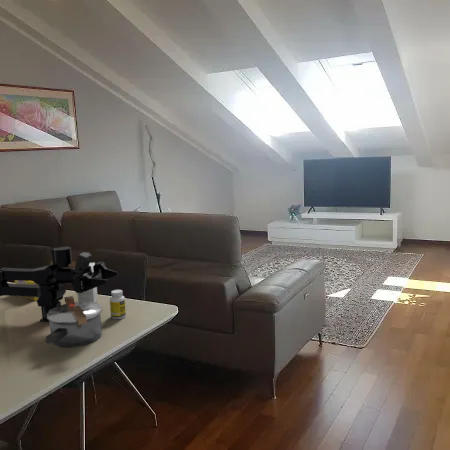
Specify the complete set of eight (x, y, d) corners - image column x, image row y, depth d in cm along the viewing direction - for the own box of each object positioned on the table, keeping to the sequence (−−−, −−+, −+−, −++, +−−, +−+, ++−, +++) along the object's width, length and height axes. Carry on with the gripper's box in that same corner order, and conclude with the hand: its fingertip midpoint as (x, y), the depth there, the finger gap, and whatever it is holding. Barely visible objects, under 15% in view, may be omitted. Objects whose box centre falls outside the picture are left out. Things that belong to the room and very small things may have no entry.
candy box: (15, 294, 203) (13, 275, 202) (20, 292, 205) (18, 274, 204) (34, 301, 193) (32, 281, 192) (39, 299, 195) (37, 280, 193)
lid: (42, 308, 159) (42, 300, 159) (94, 299, 167) (93, 291, 167) (53, 333, 138) (52, 323, 137) (111, 321, 146) (110, 312, 145)
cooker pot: (29, 355, 143) (26, 330, 142) (72, 323, 168) (70, 301, 166) (76, 358, 140) (74, 333, 138) (114, 325, 164) (112, 303, 163)
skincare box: (82, 299, 193) (79, 263, 190) (99, 298, 193) (95, 262, 190) (78, 306, 184) (74, 268, 182) (95, 305, 185) (91, 267, 182)
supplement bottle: (122, 319, 169) (120, 293, 167) (108, 319, 170) (106, 293, 168) (128, 314, 174) (126, 289, 172) (114, 313, 175) (112, 288, 174)
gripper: (55, 261, 157) (98, 262, 154) (83, 248, 175) (122, 248, 172) (58, 292, 159) (100, 294, 156) (85, 276, 177) (124, 278, 174)
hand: (112, 277), depth 164 cm, fingers open, 9 cm apart
